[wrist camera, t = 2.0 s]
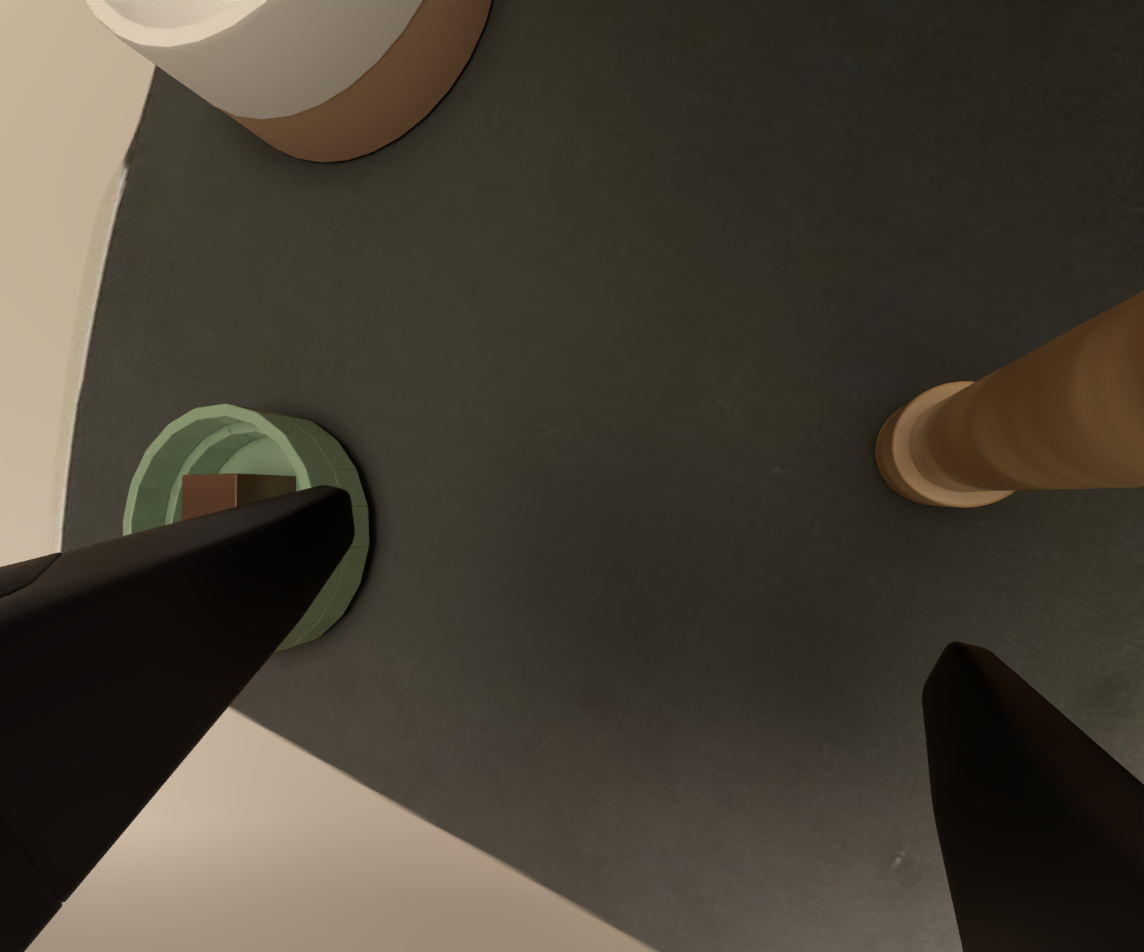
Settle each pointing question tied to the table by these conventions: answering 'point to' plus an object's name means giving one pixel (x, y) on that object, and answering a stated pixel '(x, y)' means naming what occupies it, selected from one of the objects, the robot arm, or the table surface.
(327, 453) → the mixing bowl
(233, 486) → the walnut block
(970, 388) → the pestle
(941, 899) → the table surface
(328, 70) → the bowl
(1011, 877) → the robot arm
